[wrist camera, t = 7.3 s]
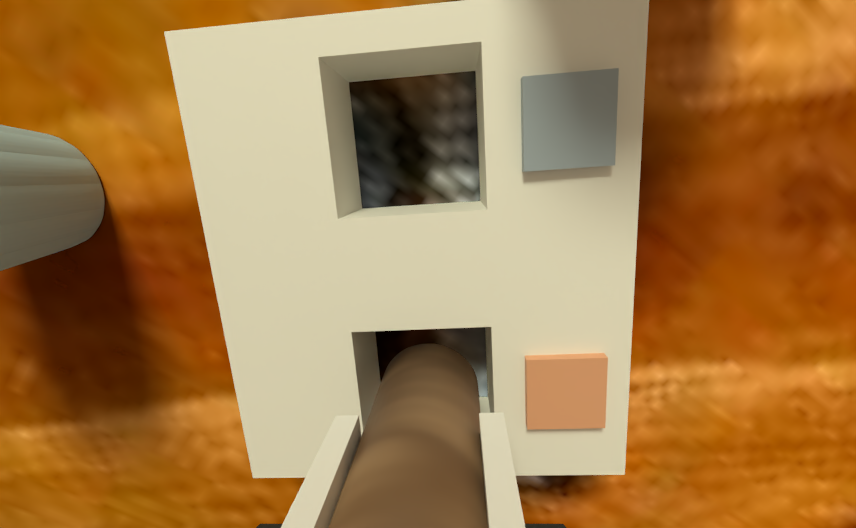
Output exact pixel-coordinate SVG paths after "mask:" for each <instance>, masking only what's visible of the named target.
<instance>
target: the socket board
mask: <svg viewBox="0 0 856 528" xmlns="http://www.w3.org/2000/svg"><path fill="white" fill-rule="evenodd" d="M648 14H649V0H463V1H453V2H444V3H434V4H425V5H415V6H405V7H396V8H386V9H377V10H367V11H358V12H348V13H339V14H329V15H319V16H310V17H300V18H291V19H281V20H272V21H262V22H252V23H243V24H233V25H224V26H214V27H205V28H195V29H185V30H176V31H166V32H164V33H165V38H166V43H167V48H168V53H169V58H170V63H171V68H172V73H173V78H174V84H175V89H176V94H177V99H178V104H179V109H180V114H181V119H182V124H183V129H184V134H185V139H186V144H187V149H188V154H189V159H190V164H191V169H192V174H193V179H194V184H195V189H196V194H197V199H198V204H199V209H200V214H201V219H202V224H203V229H204V234H205V239H206V244H207V249H208V255H209V260H210V265H211V270H212V275H213V280H214V285H215V290H216V295H217V300H218V305H219V310H220V315H221V320H222V325H223V330H224V335H225V340H226V345H227V350H228V355H229V360H230V365H231V370H232V375H233V380H234V385H235V390H236V395H237V400H238V405H239V410H240V415H241V420H242V425H243V431H244V436H245V441H246V446H247V451H248V456H249V461H250V466H251V471H252V476H253V478H305V477H306V476H307V474H308V471H309V469H310V467H311V465H312V463H313V461H314V459H315V457H316V455H317V453H318V451H319V449H320V447H321V445H322V443H323V441H324V439H325V437H326V435H327V433H328V431H329V429H330V427H331V425H332V423H333V421H334V419H335V417H336V416H343V415H359V420H360V428H361V436H362V433H363V431H364V428H365V425H366V422H367V420H368V417H369V414H370V411H371V409H372V406H373V403H374V400H375V397H376V395H377V392H378V389H379V386H380V384H381V381H380V372H379V362H378V353H377V343H376V334H375V331H395V330H421V329H447V328H473V327H485V335H486V361H487V387H488V397H479V403H480V413H504V418H505V423H506V428H507V434H508V439H509V444H510V449H511V455H512V460H513V465H514V470H515V476H531V475H625V460H626V440H627V421H628V402H629V382H630V363H631V343H632V324H633V305H634V285H635V266H636V247H637V227H638V208H639V188H640V169H641V150H642V130H643V111H644V91H645V72H646V53H647V33H648ZM468 71H475V74H476V100H477V126H478V152H479V178H480V201H473V202H457V203H442V204H426V205H410V206H395V207H379V208H363V209H362V202H361V192H360V183H359V174H358V164H357V155H356V145H355V136H354V126H353V117H352V107H351V98H350V89H349V82H357V81H368V80H380V79H391V78H402V77H413V76H424V75H435V74H446V73H457V72H468Z"/></svg>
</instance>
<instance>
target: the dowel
mask: <svg viewBox="0 0 856 528" xmlns="http://www.w3.org/2000/svg"><path fill="white" fill-rule="evenodd" d="M479 413H480V403H479V392H478V382H477V378H476V375H475V372H474V370H473V368H472V367H471V365H470V364H469V362H468V361H467V360H466V359H465V358H464V357H463V356H462V355H461V354H459V353H458V352H456V351H455V350H453V349H451V348H448V347H446V346H442V345H438V344H418V345H414V346H411V347H408V348H406V349H404V350H403V351H401V352H400V353H398V354H397V355H396V356H395V357H394V358H393V359H392V360H391V361H390V363H389V364H388V366H387V368H386V370H385V373H384V375H383V378H382V381H381V384H380V386H379V389H378V392H377V395H376V397H375V400H374V403H373V406H372V409H371V411H370V414H369V417H368V420H367V422H366V425H365V428H364V431H363V433H362V436H361V439H360V442H359V444H358V447H357V450H356V453H355V455H354V458H353V461H352V464H351V467H350V469H349V472H348V475H347V478H346V480H345V483H344V486H343V489H342V491H341V494H340V497H339V500H338V502H337V505H336V508H335V511H334V513H333V516H332V519H331V522H330V524H329V527H328V528H488V522H487V510H486V498H485V487H484V475H483V463H482V452H481V440H480V422H479Z"/></svg>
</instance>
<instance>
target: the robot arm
mask: <svg viewBox="0 0 856 528" xmlns="http://www.w3.org/2000/svg"><path fill="white" fill-rule="evenodd" d="M479 422H480V440H481V452H482V463H483V475H484V487H485V498H486V510H487V522H488V528H566V527H565V526H564V524H525V523H524V518H523V513H522V507H521V502H520V497H519V491H518V486H517V481H516V476H515V470H514V465H513V460H512V455H511V449H510V444H509V439H508V434H507V428H506V423H505V418H504V413H479ZM360 439H361V428H360V420H359V415H343V416H336V417H335V419H334V421H333V423H332V425H331V427H330V429H329V431H328V433H327V435H326V437H325V439H324V441H323V443H322V445H321V447H320V449H319V451H318V453H317V455H316V457H315V459H314V461H313V463H312V465H311V467H310V469H309V471H308V474H307V476H306V478H305V480H304V482H303V484H302V486H301V488H300V490H299V492H298V494H297V496H296V498H295V500H294V502H293V504H292V506H291V508H290V510H289V512H288V514H287V516H286V518H285V520H284V522H283V524H259V525H258V526H257V527H256V528H328V527H329V524H330V522H331V519H332V516H333V513H334V511H335V508H336V505H337V502H338V500H339V497H340V494H341V491H342V489H343V486H344V483H345V480H346V478H347V475H348V472H349V469H350V467H351V464H352V461H353V458H354V455H355V453H356V450H357V447H358V444H359V442H360Z"/></svg>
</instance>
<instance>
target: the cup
mask: <svg viewBox="0 0 856 528" xmlns="http://www.w3.org/2000/svg"><path fill="white" fill-rule="evenodd" d="M104 206H105V199H104V192H103V188H102V185H101V182H100V179H99V177H98V174H97V172H96V170H95V169H94V167H93V166H92V165H91V163H90V162H89V161H88V159H87V158H86V157H85V156H84V155H83V154H82V153H81V152H80V151H79V150H78V149H77V148H75V147H74V146H72V145H71V144H69V143H67V142H65V141H64V140H62V139H60V138H58V137H55V136H52V135H49V134H44V133H39V132H34V131H29V130H24V129H19V128H14V127H9V126H4V125H0V271H2V270H5V269H8V268H11V267H14V266H17V265H20V264H23V263H26V262H29V261H32V260H35V259H38V258H41V257H44V256H47V255H50V254H53V253H56V252H59V251H62V250H65V249H68V248H71V247H73V246H76V245H78V244H80V243H82V242H84V241H86V240H88V239H89V238H90V237H92V235H93V234H94V233H95V232H96V230H97V229H98V227H99V225H100V224H101V221H102V219H103V215H104Z"/></svg>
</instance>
